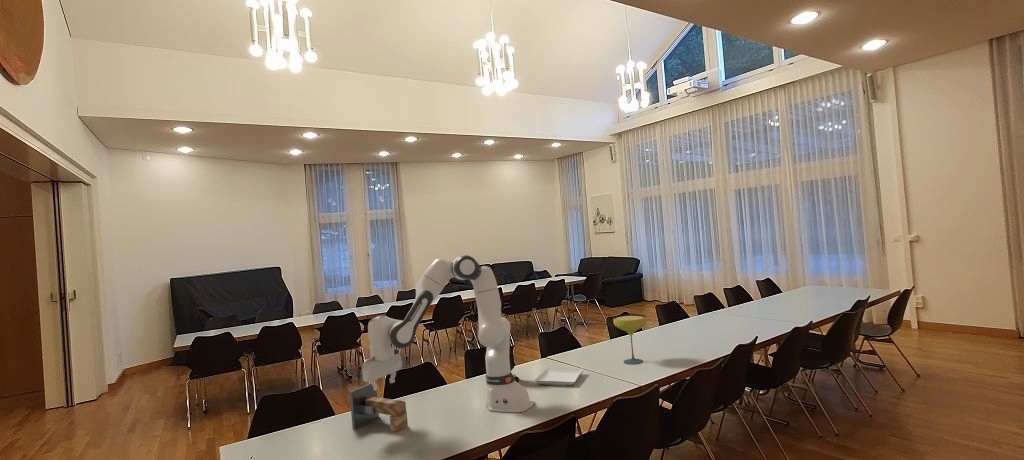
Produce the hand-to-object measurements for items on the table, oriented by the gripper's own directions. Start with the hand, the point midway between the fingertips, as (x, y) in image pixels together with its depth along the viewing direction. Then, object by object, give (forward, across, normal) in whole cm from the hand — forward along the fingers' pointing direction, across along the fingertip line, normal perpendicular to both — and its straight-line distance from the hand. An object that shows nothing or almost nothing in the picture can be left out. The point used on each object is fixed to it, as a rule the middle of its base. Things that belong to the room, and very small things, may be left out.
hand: (384, 386), depth 206 cm
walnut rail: (+11, 0, +1) cm, 11 cm away
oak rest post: (+17, 0, -6) cm, 18 cm away
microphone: (+18, +67, -20) cm, 72 cm away
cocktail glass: (+19, +116, -74) cm, 139 cm away
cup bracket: (+17, 0, +9) cm, 19 cm away
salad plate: (+19, +76, -47) cm, 91 cm away
